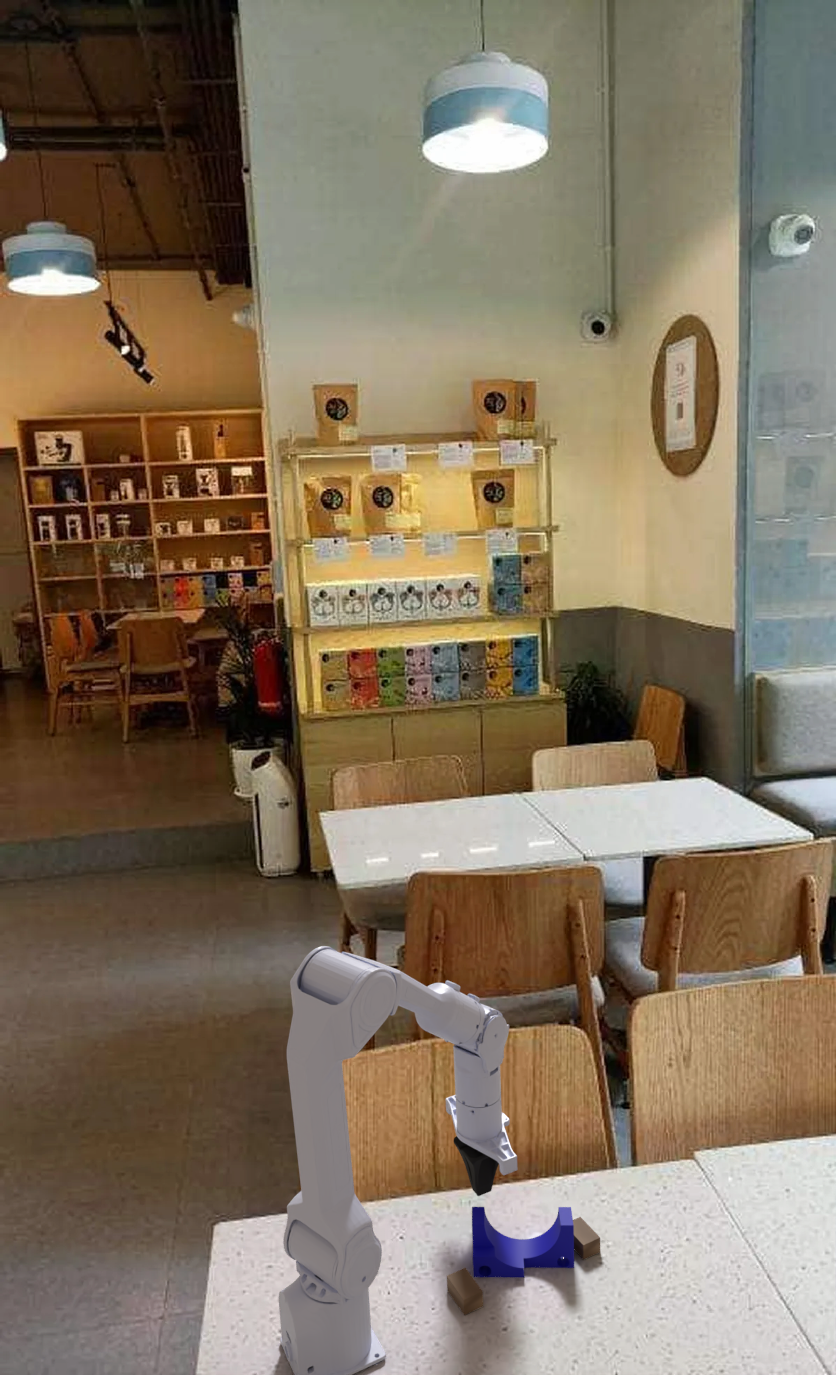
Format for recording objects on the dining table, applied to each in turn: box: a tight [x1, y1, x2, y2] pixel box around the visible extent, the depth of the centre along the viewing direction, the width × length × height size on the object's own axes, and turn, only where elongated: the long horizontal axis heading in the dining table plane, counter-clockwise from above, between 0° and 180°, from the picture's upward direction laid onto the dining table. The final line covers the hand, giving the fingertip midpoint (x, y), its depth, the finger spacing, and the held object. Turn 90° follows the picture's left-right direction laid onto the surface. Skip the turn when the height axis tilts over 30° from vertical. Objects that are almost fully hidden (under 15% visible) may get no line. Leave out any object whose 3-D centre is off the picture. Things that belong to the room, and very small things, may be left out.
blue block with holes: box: [471, 1206, 575, 1279], centre depth 114 cm, size 12×4×6 cm, turn 87°
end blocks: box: [446, 1216, 601, 1316], centre depth 113 cm, size 19×4×2 cm, turn 117°
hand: (482, 1190), depth 121 cm, fingers closed
